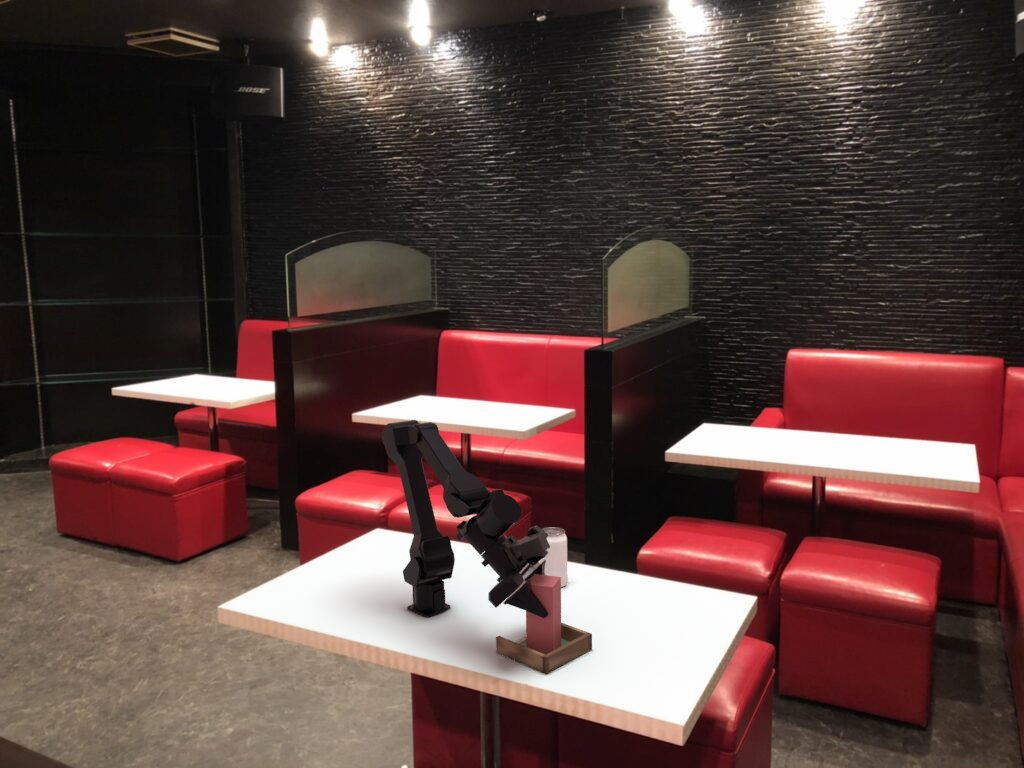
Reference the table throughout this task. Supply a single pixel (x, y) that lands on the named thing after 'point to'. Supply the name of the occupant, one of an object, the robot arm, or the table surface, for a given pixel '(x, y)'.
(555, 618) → the post
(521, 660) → the box
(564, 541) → the can
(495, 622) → the table surface
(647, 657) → the table surface
